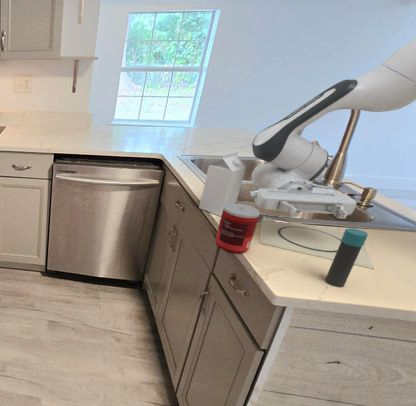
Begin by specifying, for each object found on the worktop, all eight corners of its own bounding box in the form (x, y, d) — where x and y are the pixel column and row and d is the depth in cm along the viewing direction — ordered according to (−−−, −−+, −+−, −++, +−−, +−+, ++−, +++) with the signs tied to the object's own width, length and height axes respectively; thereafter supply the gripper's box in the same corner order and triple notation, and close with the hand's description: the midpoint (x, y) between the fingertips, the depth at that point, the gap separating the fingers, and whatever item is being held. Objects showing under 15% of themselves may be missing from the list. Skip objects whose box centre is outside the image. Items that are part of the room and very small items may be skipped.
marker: (343, 281, 82) (366, 230, 77) (345, 289, 80) (369, 237, 74) (323, 276, 84) (344, 226, 79) (325, 283, 82) (346, 232, 76)
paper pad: (360, 235, 101) (360, 234, 100) (374, 269, 86) (374, 267, 86) (261, 216, 113) (262, 215, 113) (259, 243, 98) (259, 242, 98)
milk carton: (198, 208, 120) (211, 152, 112) (211, 204, 123) (225, 149, 115) (220, 216, 114) (235, 158, 106) (233, 211, 117) (249, 154, 109)
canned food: (239, 240, 100) (250, 203, 96) (254, 255, 93) (267, 216, 89) (209, 238, 102) (218, 202, 97) (221, 253, 95) (232, 215, 90)
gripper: (249, 180, 101) (273, 199, 89) (337, 184, 97) (376, 205, 84) (243, 201, 104) (266, 222, 92) (329, 206, 99) (365, 229, 87)
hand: (319, 214), depth 88 cm, fingers open, 8 cm apart
